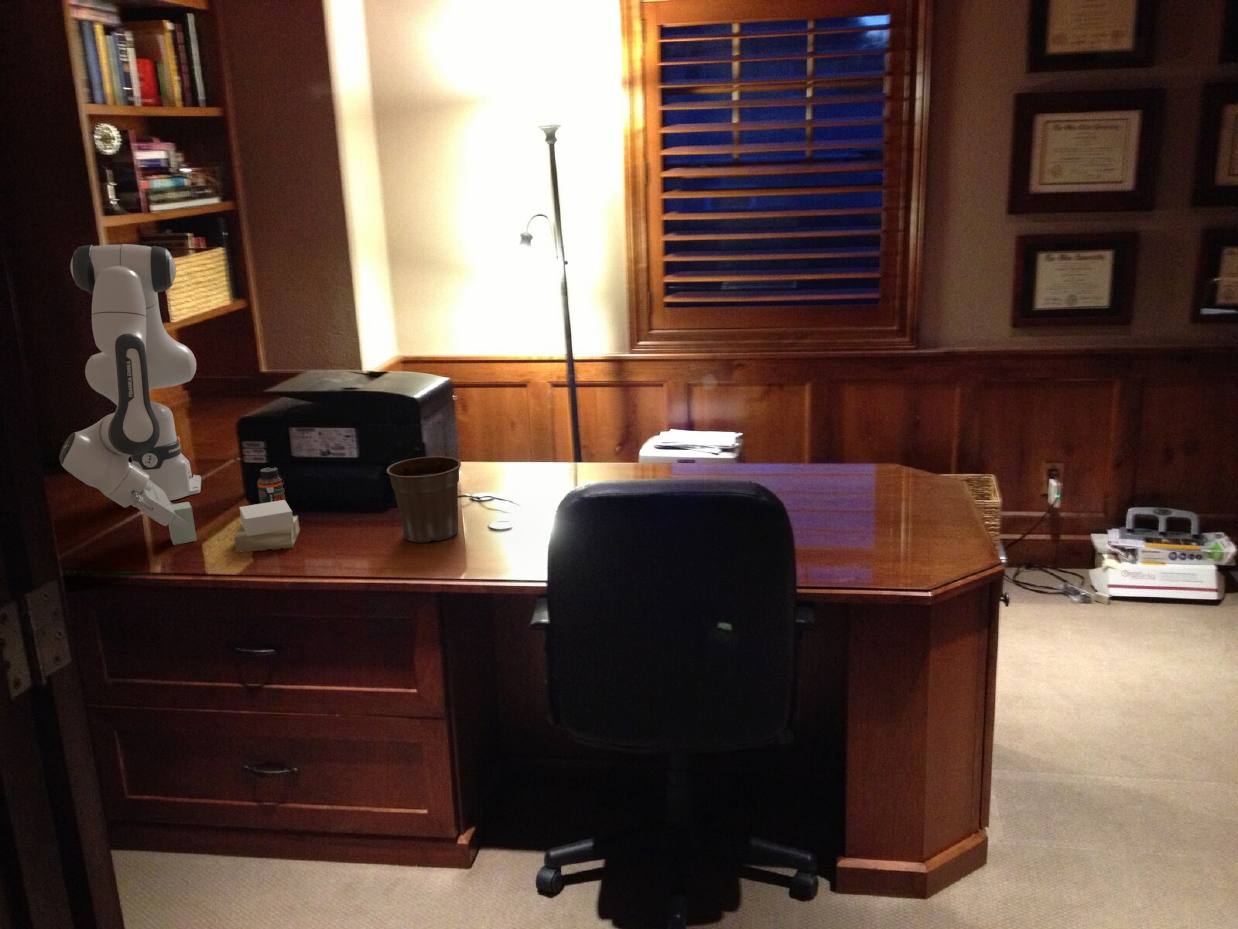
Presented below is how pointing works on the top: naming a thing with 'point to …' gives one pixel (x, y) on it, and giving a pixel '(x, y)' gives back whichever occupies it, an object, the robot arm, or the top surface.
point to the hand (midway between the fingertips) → (183, 520)
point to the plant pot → (427, 497)
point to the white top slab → (266, 517)
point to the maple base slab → (267, 539)
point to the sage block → (176, 532)
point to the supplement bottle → (270, 486)
